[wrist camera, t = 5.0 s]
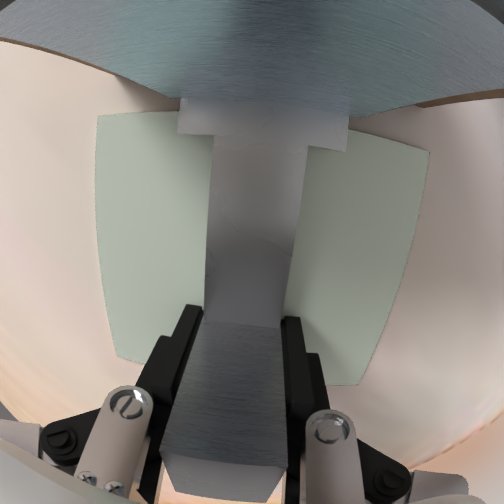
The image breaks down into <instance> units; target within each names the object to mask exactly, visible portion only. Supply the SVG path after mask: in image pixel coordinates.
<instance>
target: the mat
mask: <svg viewBox="0 0 504 504" xmlns="http://www.w3.org/2000/svg"><path fill="white" fill-rule="evenodd" d="M178 119H179V111H161V112H138V113H124V114H113V115H103V116H98V122H97V134H96V151H95V212H96V229H97V242H98V253H99V262H100V270H101V278H102V285H103V291H104V297H105V303H106V309H107V314H108V319H109V324H110V329H111V333H112V338H113V342H114V346H115V351H116V355H117V357H120V358H123V359H127V360H131V361H135V362H139V363H143V364H146V362H147V360H148V358H149V356H150V354H151V352H152V350H153V348H154V346H155V344H156V342H157V340H158V338H159V337H160V336H161V335H165V336H170V337H171V336H172V333H173V331H174V329H175V327H176V325H177V323H178V320H179V318H180V316H181V314H182V312H183V310H184V308H185V306H186V304H191V305H198V306H202V310H204V286H205V258H206V237H207V219H208V203H209V189H210V176H211V164H212V153H213V142H214V136H198V135H181V134H177V129H178ZM429 153H430V152H428V151H425V150H422V149H419V148H416V147H413V146H410V145H407V144H403V143H400V142H397V141H393V140H390V139H386V138H382V137H379V136H375V135H371V134H367V133H363V132H359V131H354V130H350V129H348V135H347V143H346V151H345V152H338V151H332V150H327V149H321V148H315V147H309V146H308V151H307V159H306V167H305V174H304V182H303V189H302V196H301V203H300V210H299V217H298V223H297V230H296V236H295V242H294V248H293V255H292V261H291V266H290V272H289V278H288V284H287V289H286V295H285V300H284V306H283V311H282V316H281V319H284V316H296V317H300V319H301V324H302V330H303V335H304V341H305V347H306V352H308V353H318V354H319V357H320V361H321V366H322V371H323V376H324V380H325V385H358V384H359V382H360V380H361V378H362V376H363V374H364V372H365V370H366V368H367V366H368V364H369V361H370V359H371V357H372V355H373V353H374V350H375V348H376V346H377V343H378V341H379V339H380V336H381V334H382V332H383V329H384V327H385V324H386V321H387V319H388V316H389V314H390V311H391V308H392V306H393V303H394V300H395V297H396V294H397V291H398V288H399V285H400V282H401V279H402V276H403V273H404V270H405V266H406V263H407V260H408V256H409V253H410V249H411V245H412V241H413V238H414V234H415V230H416V225H417V221H418V217H419V212H420V207H421V202H422V197H423V192H424V187H425V181H426V175H427V168H428V161H429Z"/></svg>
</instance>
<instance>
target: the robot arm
mask: <svg viewBox="0 0 504 504" xmlns="http://www.w3.org/2000/svg"><path fill="white" fill-rule="evenodd" d="M203 315H204V310H202V306H198V305H191V304H186V306H185V308H184V310H183V312H182V314H181V316H180V318H179V320H178V323H177V325H176V327H175V329H174V331H173V333H172V336H171V337H170V336H165V335H161V336H160V337H159V338H158V340H157V342H156V344H155V346H154V348H153V350H152V352H151V354H150V356H149V358H148V360H147V362H146V364H145V366H144V368H143V370H142V372H141V374H140V376H139V378H138V381H137V383H136V385H135V386H129V385H127V386H121V387H118V388H116V389H114V390H112V391H111V392H110V393H109V394H108V396H107V397H106V399H105V401H104V403H103V405H102V408H99V409H96V410H93V411H89V412H86V413H83V414H80V415H76V416H73V417H70V418H66V419H62V420H59V421H55V422H52V423H50V424H48V425H47V426H46V427H42V426H41V425H40V424H33V423H24V422H15V421H9V420H2V419H0V504H158V501H159V496H160V490H161V485H162V479H163V474H164V469H165V465H164V462H163V460H162V457H161V455H160V452H159V449H160V445H161V442H162V439H163V436H164V432H165V429H166V426H167V423H168V420H169V417H170V414H171V410H172V407H173V404H174V401H175V398H176V395H177V392H178V389H179V386H180V383H181V380H182V377H183V374H184V371H185V368H186V365H187V362H188V359H189V356H190V353H191V350H192V347H193V344H194V341H195V338H196V336H197V333H198V330H199V327H200V324H201V321H202V318H203ZM280 325H281V340H282V355H283V372H284V389H285V408H286V430H287V455H288V467H287V469H286V471H285V473H284V474H283V482H282V498H281V504H486V503H485V502H484V501H483V500H482V499H480V498H478V497H475V496H472V495H468V489H469V488H468V483H467V481H466V479H465V478H464V477H463V476H460V475H457V474H445V473H435V472H427V471H419V470H415V471H413V472H409V471H408V469H407V468H406V467H405V466H403V465H402V464H400V463H398V462H397V461H395V460H393V459H391V458H389V457H388V456H386V455H384V454H382V453H381V452H379V451H377V450H376V449H374V448H372V447H371V446H369V445H367V444H366V443H364V442H362V441H361V440H359V439H358V438H356V432H355V427H354V424H353V422H352V421H351V420H350V418H349V417H348V416H346V415H345V414H343V413H341V412H339V411H336V410H330V405H329V400H328V395H327V390H326V385H325V380H324V376H323V371H322V366H321V361H320V357H319V354H318V353H308V352H306V347H305V341H304V335H303V330H302V324H301V319H300V317H296V316H284V319H281V321H280Z"/></svg>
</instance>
